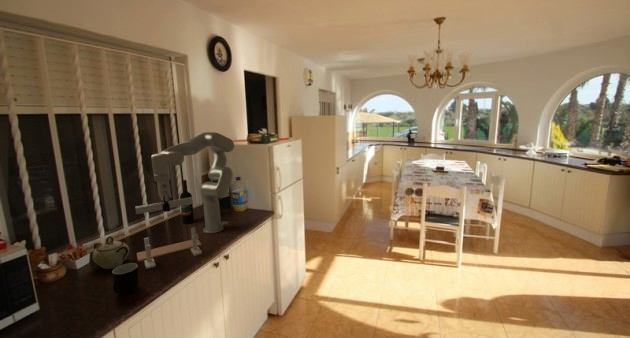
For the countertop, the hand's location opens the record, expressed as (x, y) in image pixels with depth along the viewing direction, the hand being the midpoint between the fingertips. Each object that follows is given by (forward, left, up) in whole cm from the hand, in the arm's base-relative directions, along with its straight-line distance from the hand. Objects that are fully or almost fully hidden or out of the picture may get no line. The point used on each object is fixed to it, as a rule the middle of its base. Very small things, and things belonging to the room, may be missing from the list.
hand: (166, 210), depth 156 cm
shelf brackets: (0, +12, -23) cm, 26 cm away
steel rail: (0, 0, +1) cm, 1 cm away
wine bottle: (-18, -40, -23) cm, 50 cm away
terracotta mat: (0, 0, -23) cm, 23 cm away
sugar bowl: (+26, +1, -23) cm, 35 cm away
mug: (+22, +33, -23) cm, 46 cm away
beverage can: (-33, -45, -23) cm, 61 cm away
